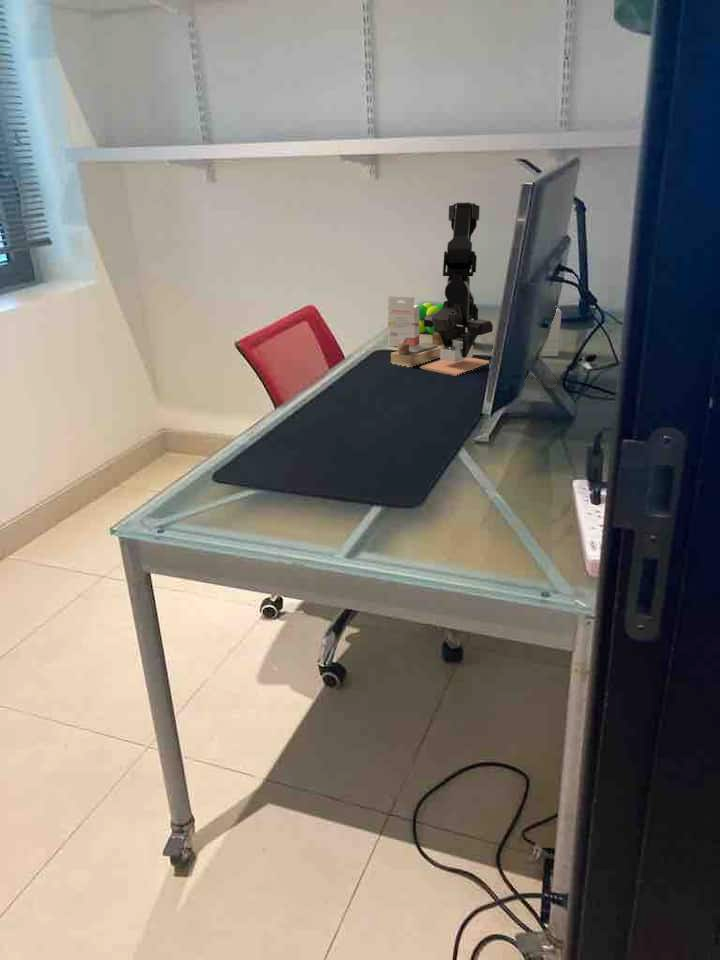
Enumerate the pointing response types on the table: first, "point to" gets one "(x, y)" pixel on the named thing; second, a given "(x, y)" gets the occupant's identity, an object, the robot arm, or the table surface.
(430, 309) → the molecule model
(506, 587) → the table surface
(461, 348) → the lever cap
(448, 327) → the robot arm
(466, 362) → the rubber mat
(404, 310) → the ink cartridge box
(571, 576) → the table surface
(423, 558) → the table surface
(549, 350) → the supplement box
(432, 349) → the hand plane
